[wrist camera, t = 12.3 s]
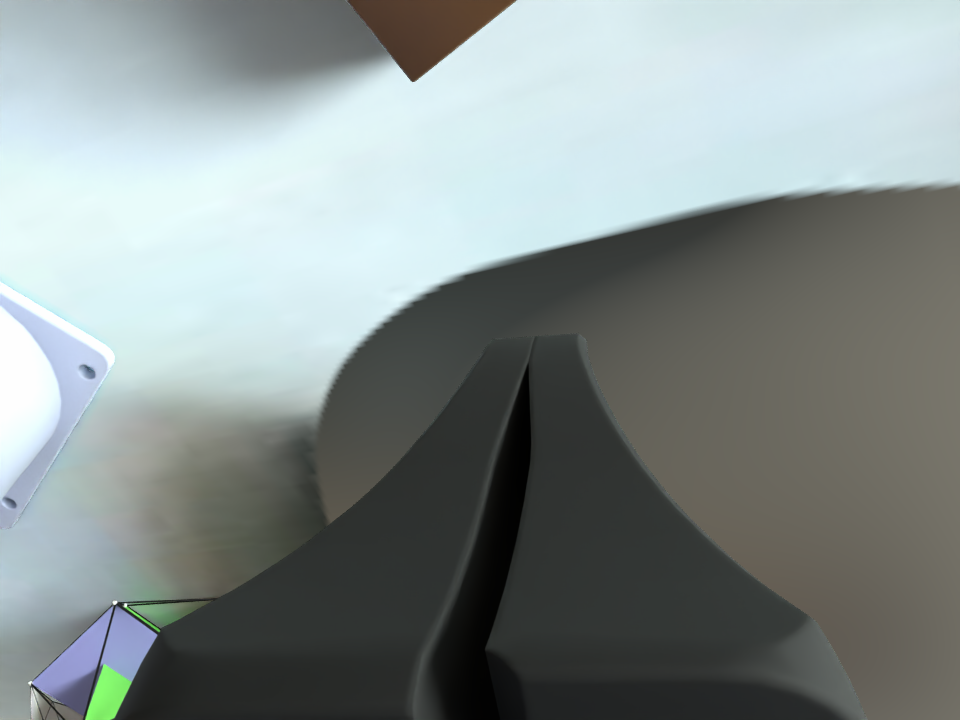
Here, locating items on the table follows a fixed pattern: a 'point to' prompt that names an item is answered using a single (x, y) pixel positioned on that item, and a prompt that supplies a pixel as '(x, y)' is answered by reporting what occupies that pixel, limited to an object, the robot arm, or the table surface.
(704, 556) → the robot arm
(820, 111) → the table surface
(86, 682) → the geometric puzzle
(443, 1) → the dial panel
